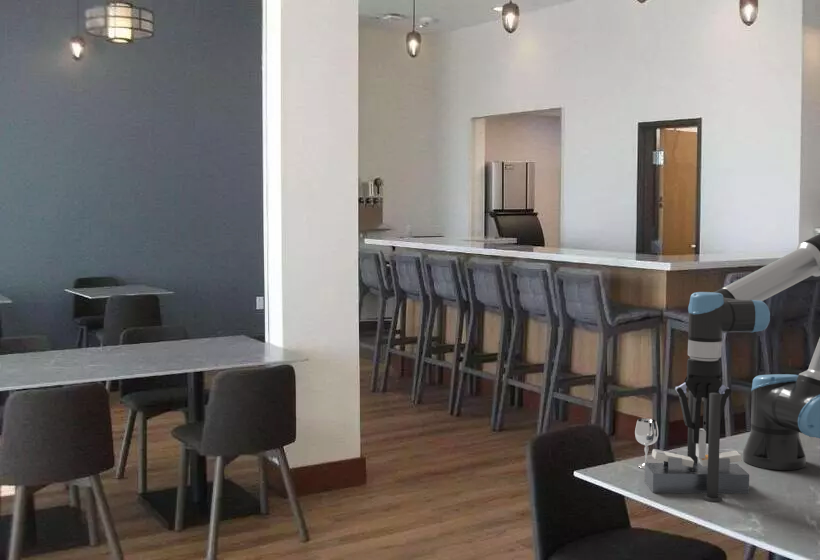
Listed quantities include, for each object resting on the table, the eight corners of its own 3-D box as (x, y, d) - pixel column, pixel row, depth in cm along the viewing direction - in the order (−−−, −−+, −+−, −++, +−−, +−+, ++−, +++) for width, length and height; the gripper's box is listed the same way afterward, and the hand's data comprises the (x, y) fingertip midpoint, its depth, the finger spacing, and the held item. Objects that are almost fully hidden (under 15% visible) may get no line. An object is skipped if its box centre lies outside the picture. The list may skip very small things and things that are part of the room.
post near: (718, 496, 208) (721, 392, 206) (724, 502, 204) (726, 395, 202) (701, 496, 208) (703, 391, 206) (706, 501, 204) (708, 395, 202)
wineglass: (658, 470, 229) (659, 423, 228) (634, 469, 230) (635, 422, 229) (656, 464, 234) (657, 418, 233) (634, 462, 236) (634, 417, 235)
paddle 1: (688, 462, 216) (690, 456, 216) (692, 467, 213) (694, 460, 212) (651, 454, 217) (652, 448, 217) (655, 459, 213) (656, 452, 213)
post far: (698, 474, 226) (700, 377, 224) (702, 478, 222) (704, 380, 220) (681, 473, 226) (683, 377, 224) (685, 478, 222) (688, 380, 220)
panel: (736, 482, 219) (737, 450, 218) (748, 493, 210) (749, 461, 209) (644, 481, 220) (645, 449, 219) (652, 492, 211) (653, 460, 210)
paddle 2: (736, 456, 216) (735, 449, 216) (741, 461, 212) (741, 454, 212) (698, 462, 216) (697, 455, 216) (703, 466, 212) (702, 459, 212)
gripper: (727, 356, 216) (723, 453, 218) (672, 355, 216) (668, 451, 218) (737, 361, 208) (733, 461, 210) (680, 360, 209) (676, 460, 211)
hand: (700, 456), depth 214 cm, fingers closed
